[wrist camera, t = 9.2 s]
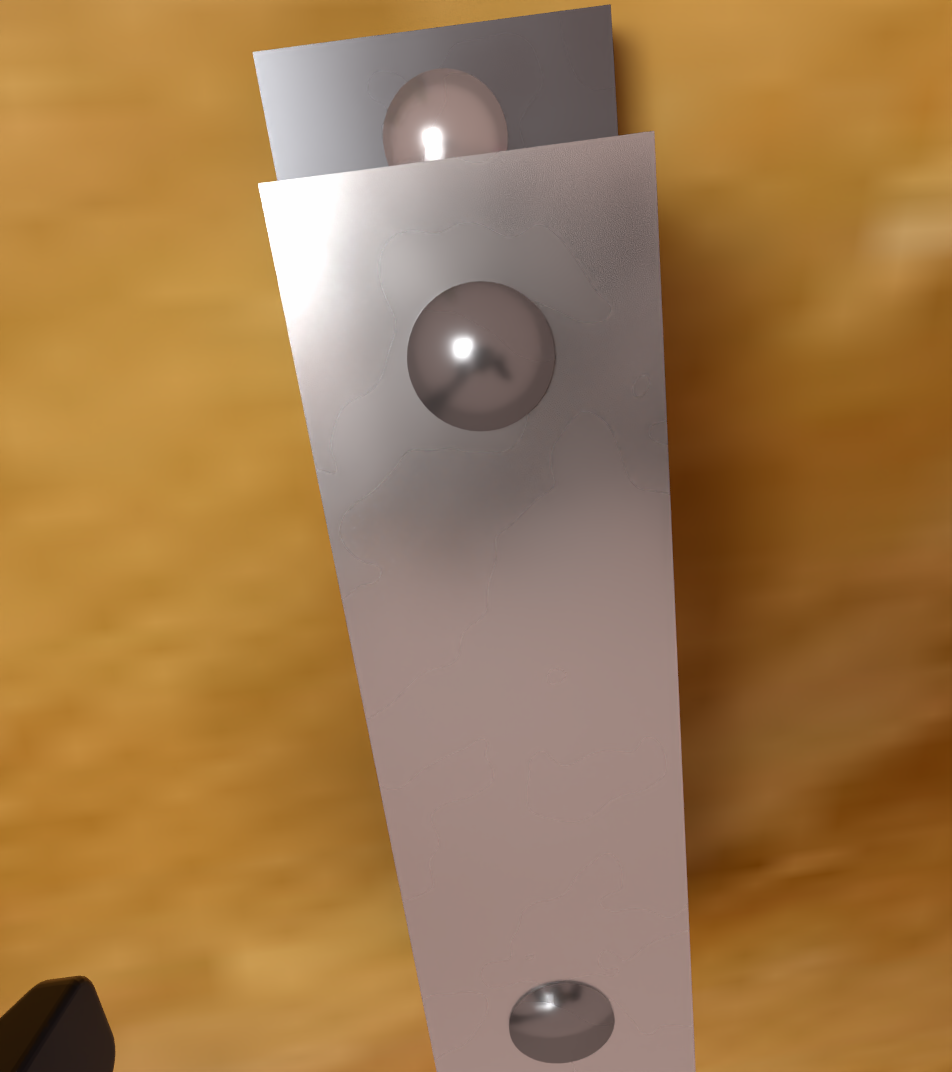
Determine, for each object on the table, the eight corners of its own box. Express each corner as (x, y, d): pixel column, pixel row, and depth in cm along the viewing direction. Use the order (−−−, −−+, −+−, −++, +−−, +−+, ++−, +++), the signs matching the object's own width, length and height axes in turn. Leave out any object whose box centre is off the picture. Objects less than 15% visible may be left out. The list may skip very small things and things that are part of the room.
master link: (637, 902, 17) (697, 1099, 13) (444, 928, 17) (448, 1132, 13) (583, 164, 12) (654, 129, 8) (314, 200, 12) (258, 183, 8)
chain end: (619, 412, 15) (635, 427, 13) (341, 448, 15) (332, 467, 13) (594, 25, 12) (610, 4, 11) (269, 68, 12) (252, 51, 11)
